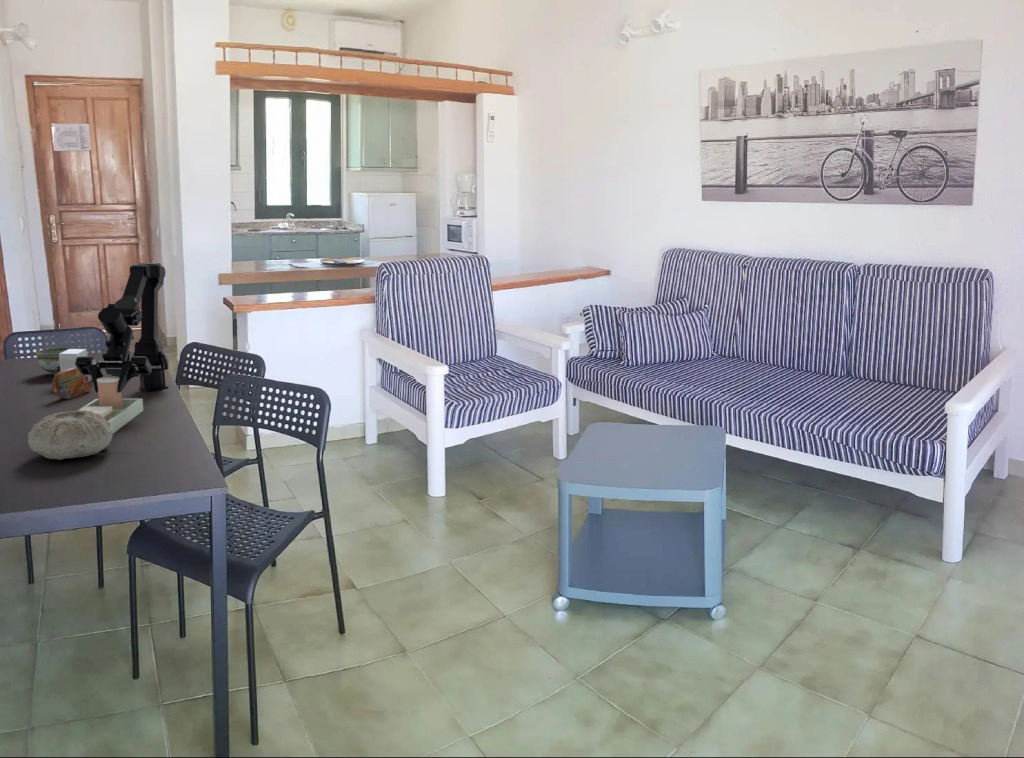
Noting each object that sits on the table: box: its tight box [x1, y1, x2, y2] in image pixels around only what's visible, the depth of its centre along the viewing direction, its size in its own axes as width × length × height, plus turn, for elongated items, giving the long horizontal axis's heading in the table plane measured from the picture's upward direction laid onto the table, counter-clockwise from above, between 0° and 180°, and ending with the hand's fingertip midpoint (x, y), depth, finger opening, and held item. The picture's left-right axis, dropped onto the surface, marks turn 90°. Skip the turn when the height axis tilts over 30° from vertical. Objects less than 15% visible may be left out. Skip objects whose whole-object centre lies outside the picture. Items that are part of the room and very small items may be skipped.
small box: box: [59, 348, 88, 371], centre depth 268 cm, size 8×6×10 cm
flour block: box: [79, 406, 113, 421], centre depth 218 cm, size 7×7×5 cm
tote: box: [78, 398, 144, 434], centre depth 224 cm, size 24×13×4 cm, turn 5°
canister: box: [97, 375, 123, 410], centre depth 229 cm, size 6×6×10 cm
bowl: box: [34, 347, 80, 376], centre depth 280 cm, size 14×13×8 cm
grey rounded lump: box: [27, 409, 114, 461], centre depth 199 cm, size 18×18×10 cm
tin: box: [51, 367, 94, 400], centre depth 253 cm, size 15×3×8 cm, turn 168°
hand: (107, 391), depth 228 cm, fingers closed on canister, 5 cm apart
